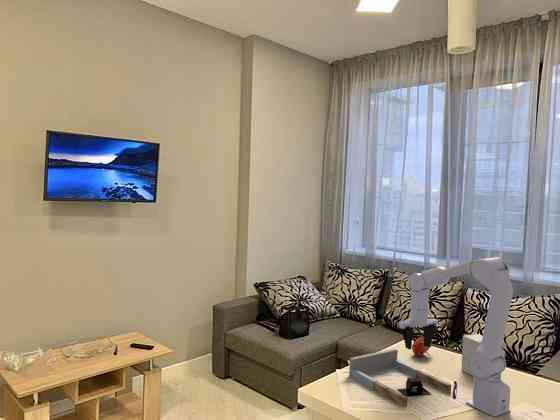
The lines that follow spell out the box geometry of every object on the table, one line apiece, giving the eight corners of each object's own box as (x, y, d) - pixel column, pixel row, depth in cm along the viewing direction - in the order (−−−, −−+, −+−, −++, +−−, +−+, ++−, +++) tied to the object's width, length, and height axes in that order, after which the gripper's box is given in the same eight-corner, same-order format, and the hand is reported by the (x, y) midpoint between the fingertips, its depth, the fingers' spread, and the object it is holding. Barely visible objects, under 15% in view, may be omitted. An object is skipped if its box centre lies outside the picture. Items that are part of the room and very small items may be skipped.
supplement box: (492, 375, 155) (494, 340, 154) (476, 378, 152) (478, 342, 152) (476, 367, 162) (478, 333, 161) (460, 370, 159) (462, 335, 158)
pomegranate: (430, 360, 174) (411, 340, 178) (442, 349, 170) (422, 328, 174) (422, 367, 168) (403, 346, 173) (433, 356, 164) (413, 335, 169)
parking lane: (450, 392, 141) (451, 373, 140) (403, 406, 130) (404, 386, 130) (393, 364, 162) (394, 348, 161) (349, 375, 151) (349, 358, 150)
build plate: (425, 387, 145) (426, 373, 145) (438, 397, 138) (439, 383, 138) (390, 390, 142) (391, 375, 142) (402, 400, 135) (403, 385, 135)
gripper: (429, 304, 158) (427, 341, 158) (394, 306, 153) (392, 345, 153) (442, 309, 151) (440, 348, 152) (407, 311, 146) (405, 352, 147)
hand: (417, 347), depth 152 cm, fingers open, 7 cm apart
